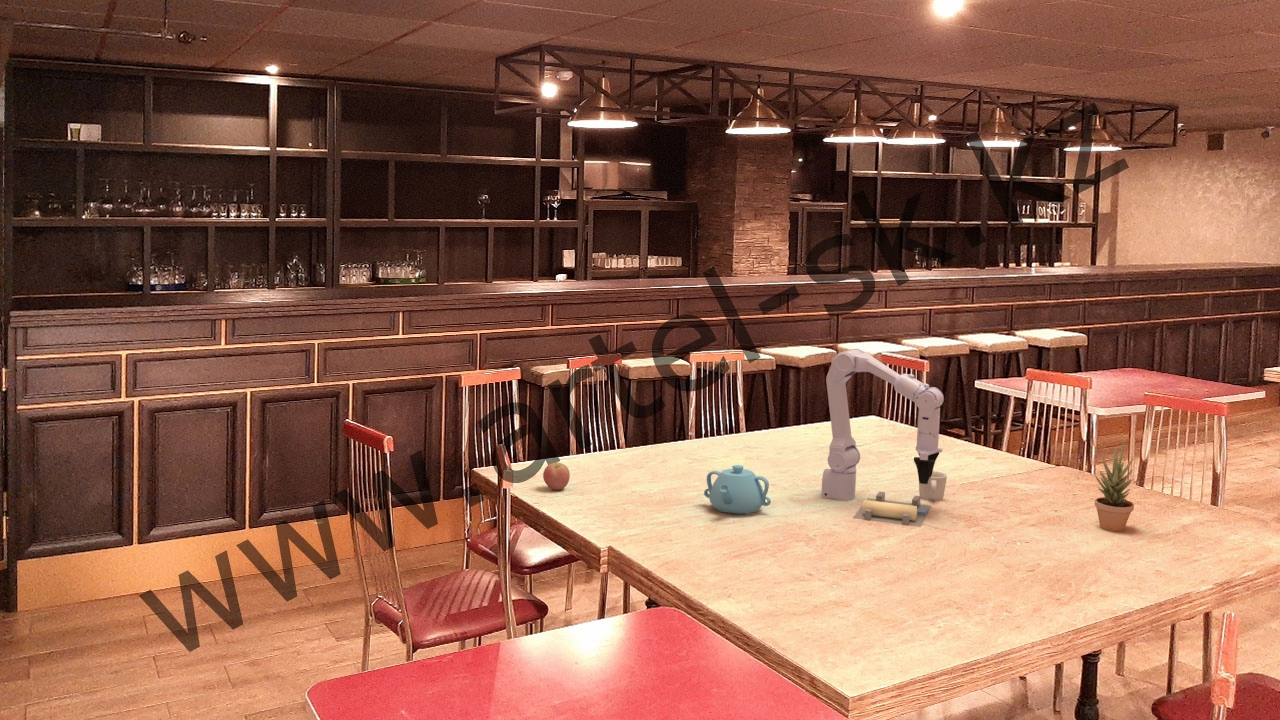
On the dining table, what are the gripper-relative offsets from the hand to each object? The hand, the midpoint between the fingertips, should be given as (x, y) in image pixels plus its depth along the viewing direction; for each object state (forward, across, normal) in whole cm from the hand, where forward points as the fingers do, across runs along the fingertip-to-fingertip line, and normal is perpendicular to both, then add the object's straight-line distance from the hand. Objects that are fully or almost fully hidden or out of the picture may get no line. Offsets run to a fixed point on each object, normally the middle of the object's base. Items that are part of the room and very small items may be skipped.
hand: (925, 480), depth 284 cm
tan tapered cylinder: (+9, -10, +8) cm, 15 cm away
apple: (+11, -20, +104) cm, 106 cm away
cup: (+10, +15, 0) cm, 18 cm away
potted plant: (+10, +10, -48) cm, 50 cm away
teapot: (+10, -19, +49) cm, 54 cm away
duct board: (+10, -4, +8) cm, 13 cm away
